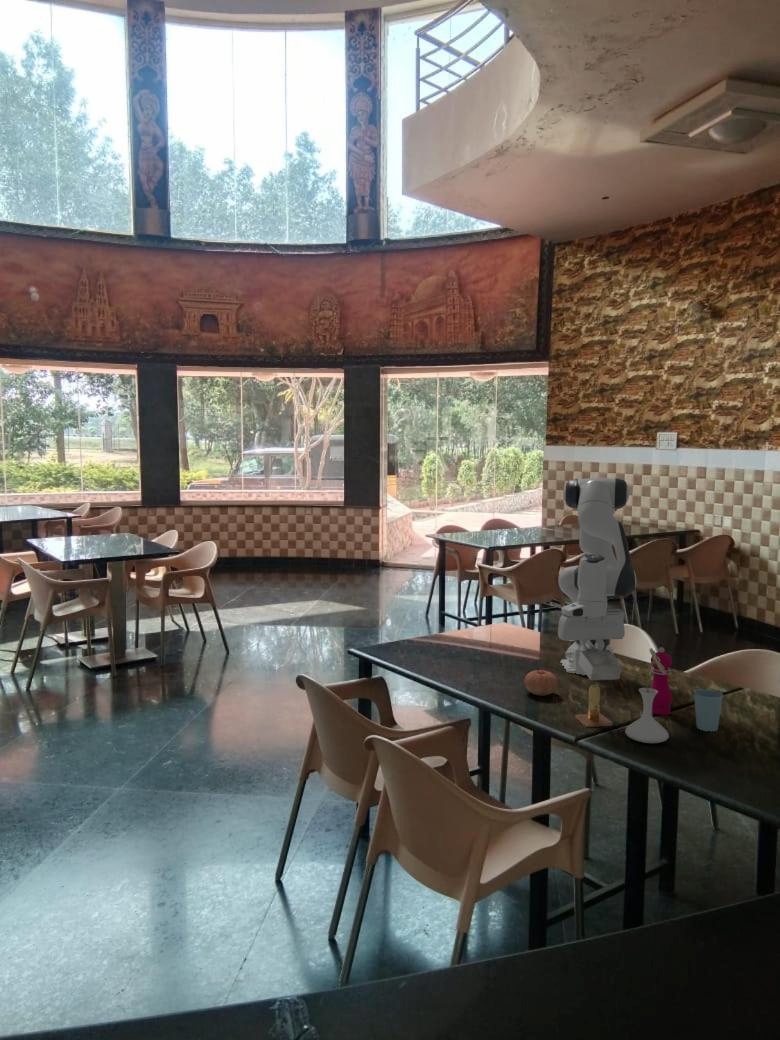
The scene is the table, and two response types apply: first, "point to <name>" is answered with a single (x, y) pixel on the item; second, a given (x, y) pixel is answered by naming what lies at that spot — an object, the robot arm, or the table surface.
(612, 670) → the steel link
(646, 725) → the flower in vase
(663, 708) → the pepper mill
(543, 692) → the orange pumpkin
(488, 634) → the table surface
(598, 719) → the post
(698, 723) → the cup
